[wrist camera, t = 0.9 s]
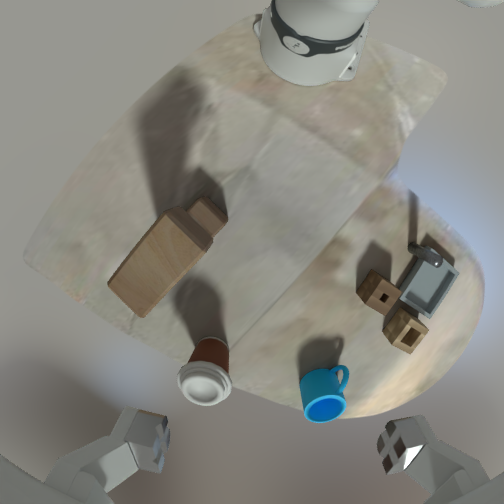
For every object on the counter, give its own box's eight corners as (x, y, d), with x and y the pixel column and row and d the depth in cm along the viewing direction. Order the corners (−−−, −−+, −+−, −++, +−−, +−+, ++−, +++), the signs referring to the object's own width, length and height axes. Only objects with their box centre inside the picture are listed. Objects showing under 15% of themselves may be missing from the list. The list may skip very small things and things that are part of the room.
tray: (425, 245, 45) (431, 248, 43) (453, 269, 46) (459, 273, 44) (394, 294, 48) (399, 298, 45) (424, 314, 49) (429, 319, 46)
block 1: (371, 269, 46) (382, 278, 42) (390, 281, 47) (402, 292, 42) (355, 292, 48) (365, 304, 43) (375, 303, 48) (385, 316, 43)
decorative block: (205, 194, 44) (165, 208, 24) (230, 219, 45) (209, 252, 25) (161, 241, 46) (102, 284, 27) (184, 265, 47) (140, 321, 28)
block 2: (400, 307, 48) (411, 318, 43) (417, 318, 49) (429, 330, 44) (382, 331, 50) (391, 344, 45) (400, 341, 50) (410, 354, 45)
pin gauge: (411, 240, 45) (438, 253, 36) (418, 245, 45) (444, 259, 36) (405, 249, 45) (431, 264, 37) (412, 254, 45) (438, 270, 37)
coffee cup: (204, 373, 53) (193, 414, 41) (180, 339, 51) (163, 378, 39) (244, 360, 52) (241, 402, 40) (221, 323, 50) (212, 363, 38)
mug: (321, 400, 55) (328, 426, 47) (291, 389, 54) (295, 416, 46) (356, 363, 52) (368, 388, 44) (326, 349, 51) (336, 375, 43)
